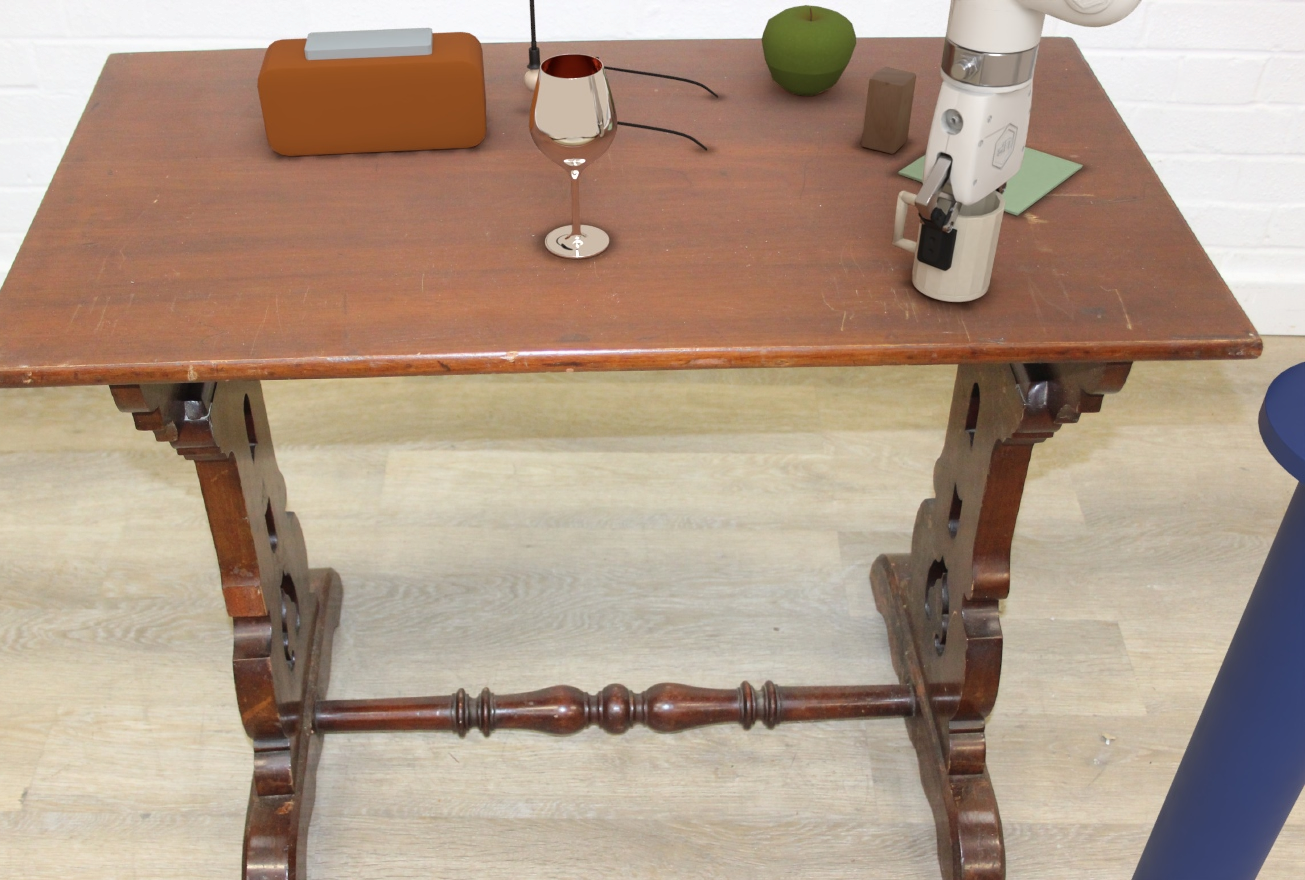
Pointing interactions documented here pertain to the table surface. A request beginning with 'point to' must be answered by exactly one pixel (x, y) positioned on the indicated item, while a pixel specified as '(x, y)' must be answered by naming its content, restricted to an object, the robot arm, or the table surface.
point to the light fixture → (532, 54)
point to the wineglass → (573, 136)
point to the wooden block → (888, 109)
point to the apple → (808, 48)
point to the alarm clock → (373, 92)
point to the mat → (1021, 178)
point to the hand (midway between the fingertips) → (956, 246)
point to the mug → (957, 248)
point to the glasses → (667, 78)
